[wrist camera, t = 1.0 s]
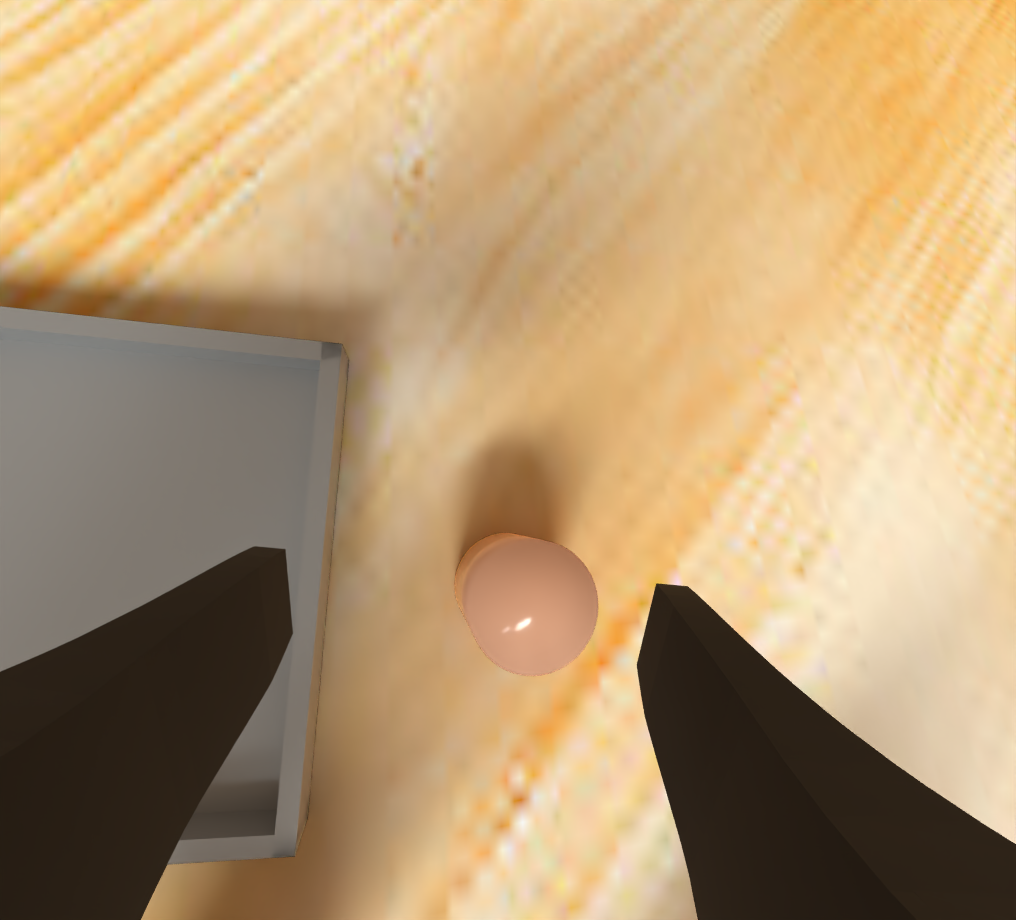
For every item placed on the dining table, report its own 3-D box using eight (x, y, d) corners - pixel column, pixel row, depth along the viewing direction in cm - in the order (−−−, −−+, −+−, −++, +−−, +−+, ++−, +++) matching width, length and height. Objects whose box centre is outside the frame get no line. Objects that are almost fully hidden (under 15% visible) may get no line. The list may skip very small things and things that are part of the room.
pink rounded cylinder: (551, 636, 25) (596, 675, 19) (451, 635, 24) (464, 675, 18) (556, 535, 25) (600, 542, 19) (457, 530, 24) (473, 536, 18)
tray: (307, 817, 22) (294, 856, 19) (-285, 847, 18) (-393, 899, 16) (349, 360, 24) (341, 343, 22) (-174, 306, 20) (-254, 278, 18)
